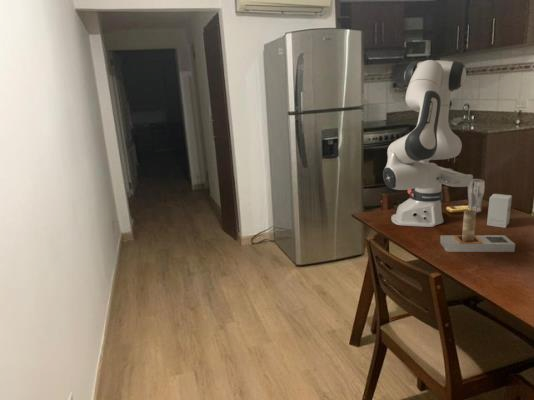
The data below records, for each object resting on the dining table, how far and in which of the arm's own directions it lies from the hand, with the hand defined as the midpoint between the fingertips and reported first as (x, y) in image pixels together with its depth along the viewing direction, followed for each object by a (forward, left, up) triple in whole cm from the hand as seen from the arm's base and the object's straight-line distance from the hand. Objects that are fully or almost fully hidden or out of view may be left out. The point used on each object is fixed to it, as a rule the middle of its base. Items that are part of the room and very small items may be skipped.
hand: (461, 174), depth 139 cm
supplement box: (+25, +28, -29) cm, 47 cm away
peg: (+5, +2, -29) cm, 29 cm away
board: (+8, +2, -29) cm, 30 cm away
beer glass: (+22, +48, -29) cm, 60 cm away
